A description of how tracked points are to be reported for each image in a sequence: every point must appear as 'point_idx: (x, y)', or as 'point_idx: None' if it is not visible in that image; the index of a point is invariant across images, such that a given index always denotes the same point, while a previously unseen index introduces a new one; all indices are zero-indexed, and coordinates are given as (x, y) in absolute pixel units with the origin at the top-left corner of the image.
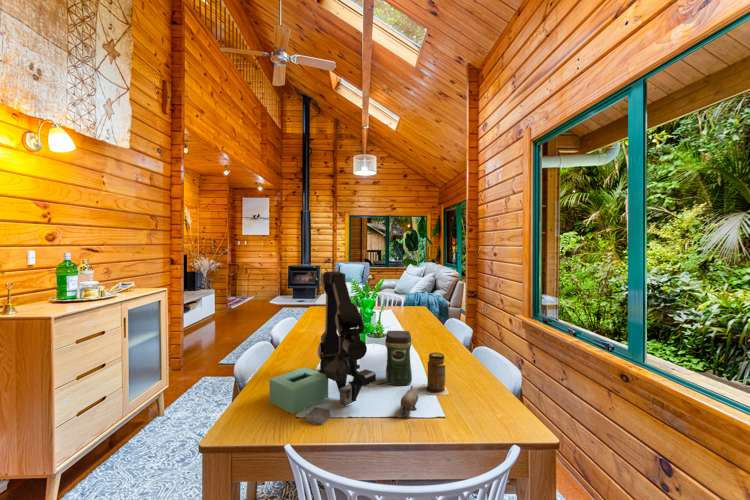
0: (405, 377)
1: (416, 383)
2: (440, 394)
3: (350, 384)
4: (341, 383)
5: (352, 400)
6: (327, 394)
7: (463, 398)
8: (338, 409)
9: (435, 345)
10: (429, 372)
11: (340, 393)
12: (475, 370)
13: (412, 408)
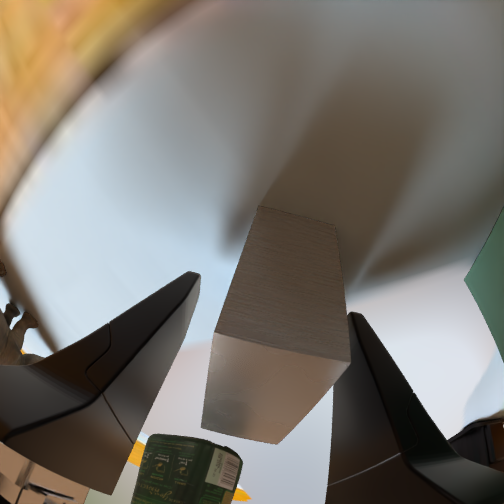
0: (147, 454)
1: (147, 435)
2: None
3: (35, 409)
4: (365, 437)
5: (194, 277)
6: (482, 296)
7: None
8: (284, 124)
9: (244, 499)
10: None
11: (328, 302)
12: None
13: (10, 306)
